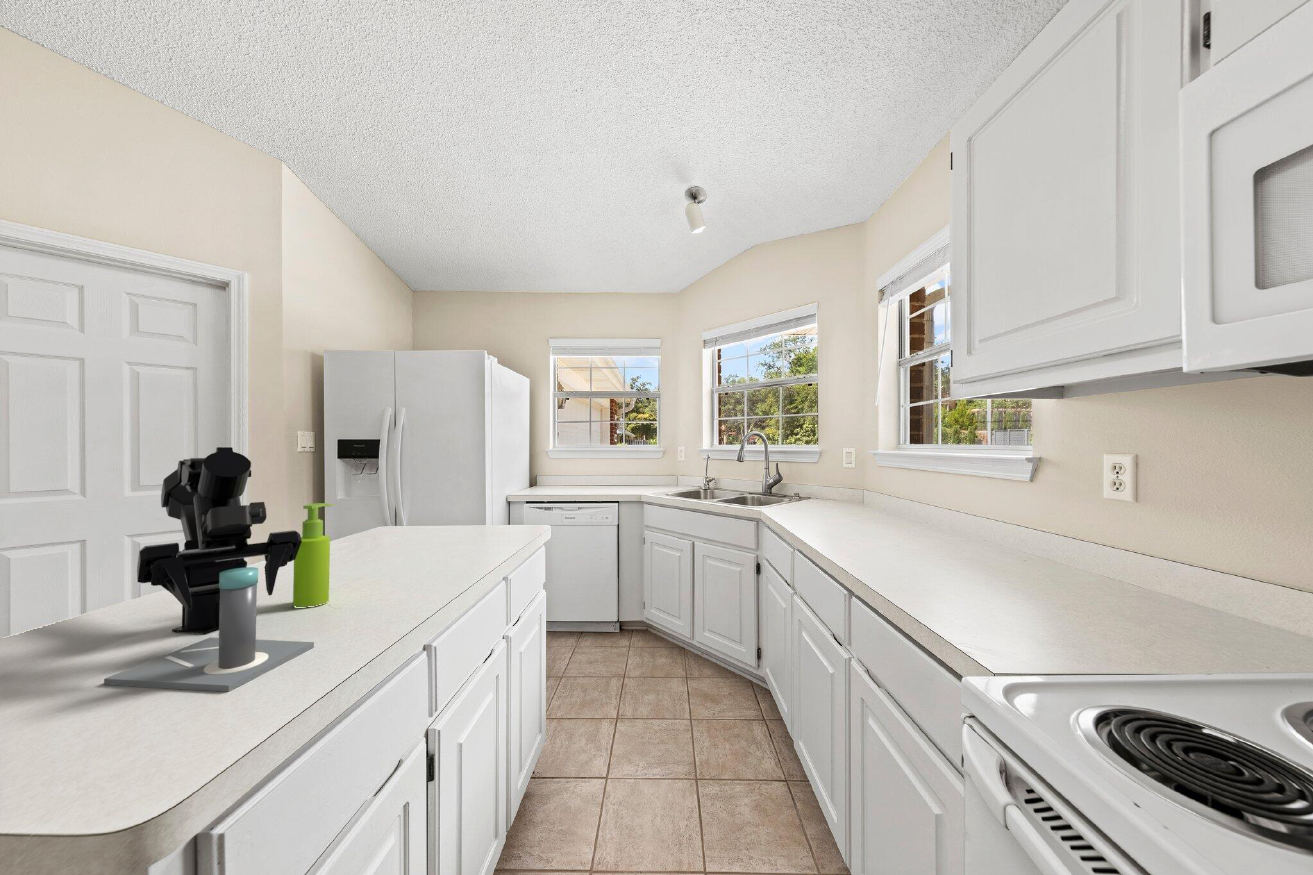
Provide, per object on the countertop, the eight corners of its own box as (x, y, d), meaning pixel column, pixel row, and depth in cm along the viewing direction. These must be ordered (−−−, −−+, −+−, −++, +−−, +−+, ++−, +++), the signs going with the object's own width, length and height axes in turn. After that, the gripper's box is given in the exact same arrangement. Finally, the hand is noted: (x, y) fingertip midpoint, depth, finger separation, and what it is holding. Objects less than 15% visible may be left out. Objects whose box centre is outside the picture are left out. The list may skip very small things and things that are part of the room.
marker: (213, 663, 69) (215, 571, 69) (250, 653, 72) (252, 565, 73) (222, 671, 66) (224, 576, 67) (260, 660, 70) (262, 570, 70)
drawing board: (103, 684, 64) (104, 677, 64) (209, 642, 78) (209, 636, 78) (228, 691, 63) (228, 684, 63) (313, 647, 77) (314, 641, 77)
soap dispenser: (339, 598, 101) (341, 502, 102) (312, 609, 95) (315, 506, 95) (313, 597, 102) (315, 501, 102) (285, 607, 95) (287, 505, 95)
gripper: (141, 489, 69) (146, 583, 62) (299, 482, 83) (319, 558, 76) (135, 537, 74) (139, 629, 67) (285, 523, 88) (302, 597, 81)
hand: (232, 600), depth 72 cm, fingers open, 9 cm apart
